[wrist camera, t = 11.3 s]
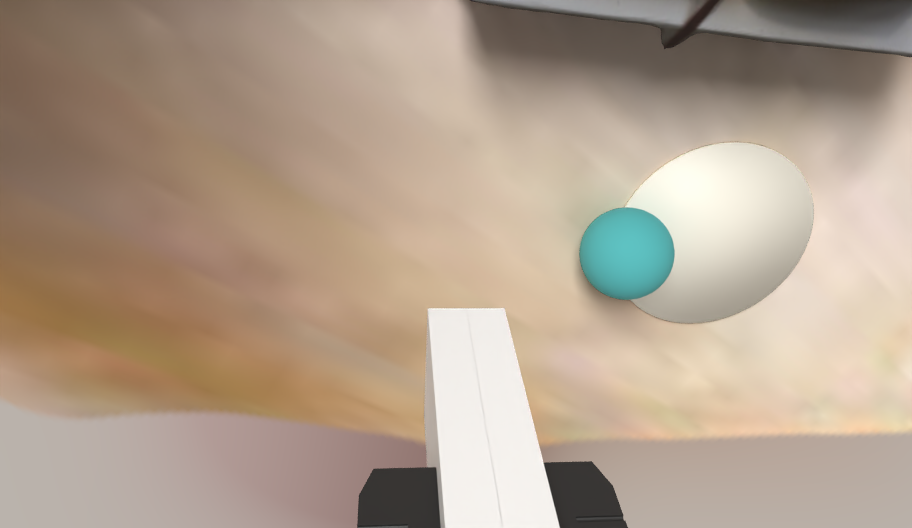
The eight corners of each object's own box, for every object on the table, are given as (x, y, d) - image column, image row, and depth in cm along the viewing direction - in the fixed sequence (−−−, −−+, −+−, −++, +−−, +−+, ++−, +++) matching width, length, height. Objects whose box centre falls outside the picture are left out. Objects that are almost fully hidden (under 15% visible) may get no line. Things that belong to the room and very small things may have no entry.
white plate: (597, 322, 46) (597, 323, 46) (631, 139, 40) (632, 140, 40) (778, 321, 48) (780, 322, 47) (840, 143, 41) (842, 145, 41)
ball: (690, 306, 40) (645, 270, 45) (696, 217, 37) (647, 190, 42) (602, 323, 39) (566, 284, 44) (603, 233, 36) (564, 203, 41)
